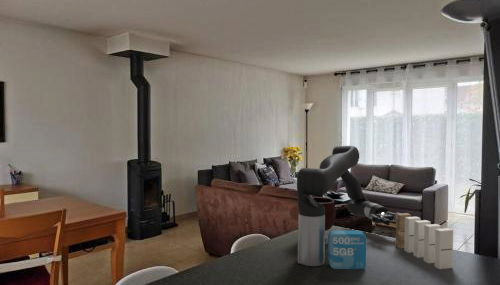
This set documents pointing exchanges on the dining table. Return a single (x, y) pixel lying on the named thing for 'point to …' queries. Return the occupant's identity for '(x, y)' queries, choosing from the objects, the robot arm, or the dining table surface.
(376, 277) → the dining table surface
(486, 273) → the dining table surface
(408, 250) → the tile
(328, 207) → the mate gourd
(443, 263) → the end tile
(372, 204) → the robot arm
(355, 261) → the data package
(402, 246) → the tile
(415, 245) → the tile
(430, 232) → the white domino block
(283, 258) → the dining table surface
